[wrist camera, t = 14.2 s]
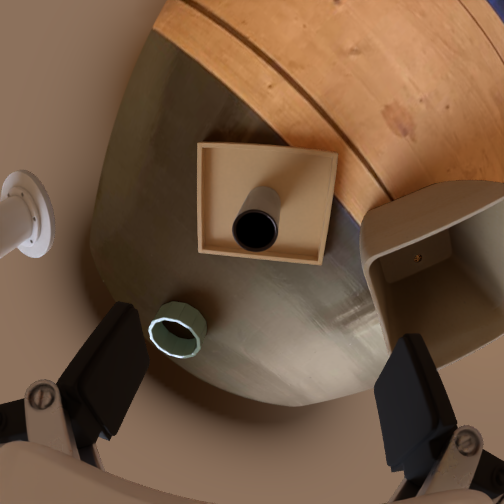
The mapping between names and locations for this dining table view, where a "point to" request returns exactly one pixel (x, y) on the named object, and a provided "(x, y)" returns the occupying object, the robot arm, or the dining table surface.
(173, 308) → the sleeve
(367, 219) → the flower pot
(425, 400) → the robot arm
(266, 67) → the dining table surface
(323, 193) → the tray
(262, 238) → the grey cylinder
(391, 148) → the dining table surface
